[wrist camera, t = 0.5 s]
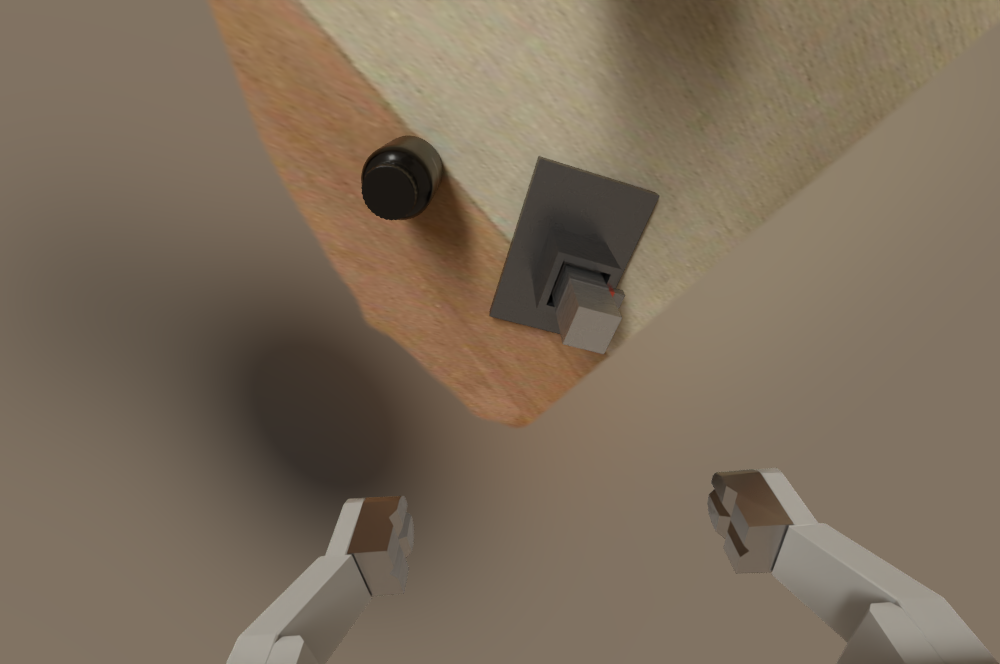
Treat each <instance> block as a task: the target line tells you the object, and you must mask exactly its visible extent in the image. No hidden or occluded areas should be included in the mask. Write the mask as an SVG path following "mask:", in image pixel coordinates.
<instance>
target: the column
mask: <svg viewBox="0 0 1000 664" xmlns="http://www.w3.org/2000/svg"><path fill="white" fill-rule="evenodd" d="M551 296H552V298H553V302H554V307H555V314H556V316H557V320H558V325H559V330H560V334H561V339H562V343H563V344H564V345H569V346H573V347H577V348H581V349H585V350H589V351H593V352H597V353H601V354H604V353H605V351H606V349H607V347H608V345H609V343H610V341H611V339H612V337H613V335H614V333H615V331H616V329H617V327H618V325H619V323H620V321H621V319H622V316H621V314H620V312H619V310H618V308H617V306H616V304H615V302H614V300H613V297H612V295H611V293H610V291H609V287H608V285H606V283H605V281H604V279H603V276H602V274H601V272H600V271H597V270H593V269H589V268H586V267H582V266H579V265H575V264H572V263H568V262H564V261H563V263H562V266H561V268H560V271H559V274H558V276H557V279H556V281H555V284H554V286H553V289H552V291H551Z"/></svg>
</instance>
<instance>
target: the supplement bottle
mask: <svg viewBox="0 0 1000 664" xmlns="http://www.w3.org/2000/svg"><path fill="white" fill-rule="evenodd" d="M442 174H443V169H442V163H441V159H440V157H439V155H438V153H437V151H436V150H435V149H434V148H433V146H432V145H431V144H429V143H428V142H427V141H425V140H423V139H421V138H419V137H415V136H402V137H399V138H396V139H394V140H392V141H391V142H389V143H387V144H386V145H384V146H382V147H381V148H379V149H378V150H376V151H375V152H373V153H372V154H371V155H370V156H369V158H368V159H367V160H366V162H365V164H364V166H363V169H362V175H361V183H362V195H363V199H364V200H365V204H366V205H367V207H368V208H369V209H370V210H371V211H372V212H373V213H375V215H376V216H379V217H380V218H384V219H386V220H388V219H389V220H406V219H411V218H414V217H416V216H418V215H419V214H421V213H422V212H423V211H424V210H425V209H426V208H427V206H428V205H429V204H430V202H431V200H432V198H433V196H434V195H435V193H436V191H437V189H438V187H439V185H440V183H441V180H442Z"/></svg>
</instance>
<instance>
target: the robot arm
mask: <svg viewBox="0 0 1000 664" xmlns="http://www.w3.org/2000/svg"><path fill="white" fill-rule="evenodd" d="M711 483H712V485H713V487H714V490H713V491H712V492H711V493H710V494H709V497H708V511H709V516H710V519H711V522H712V524H713V527H714V529H715V531H716V532H717V533H718V534H720V535H721V536H722V537H723V538H725V539H726V540H725V544H724V550H725V552H726V554H727V556H728V558H729V560H730V563H731V565H732V567H733V569H734V571H735V573H736V574H737V573H765V572H766V573H767V572H772V575H773V576H774V577H775V578H776V579H777V580H778V581H780V582H781V583H782V584H783V585H784V586H785V587H786V588H787V589H788V590H790V591H791V592H792V593H793V594H794V595H795V596H796V597H798V599H800V600H801V601H802V602H803V603H804V604H805V605H806V606H807V607H808V608H810V609H811V610H812V611H813V612H814V613H815V614H816V615H818V616H819V617H820V618H821V619H822V620H823V621H824V622H825V623H826V624H827V625H829V626H830V627H831V628H832V629H833V630H834V631H835V632H836V633H837V634H839V635H840V636H841V637H842V638H843V639H844V640H845V641H846V642H847V645H846V647H845V649H844V650H843V652H842V654H841V655H840V657H839V659H838V662H837V664H999V663H998V662H997V660H996V659H995V658H994V657H993V656H992V654H991V653H990V652H989V651H988V650H987V649H986V647H985V646H984V645H983V644H982V643H981V642H980V641H979V639H978V638H977V637H976V636H975V634H974V633H973V632H972V631H971V630H970V628H969V627H968V626H967V625H966V624H965V623H964V621H963V620H962V619H961V618H960V617H959V615H958V614H957V613H956V612H955V611H954V609H953V608H952V607H951V606H950V605H949V604H948V603H947V601H946V600H945V599H944V598H943V597H941V596H940V595H938V594H937V593H935V592H933V591H932V590H930V589H928V588H927V587H925V586H924V585H922V584H921V583H919V582H917V581H916V580H914V579H913V578H911V577H909V576H908V575H906V574H905V573H903V572H902V571H900V570H898V569H897V568H895V567H894V566H892V565H890V564H889V563H887V562H886V561H884V560H882V559H881V558H879V557H878V556H876V555H875V554H873V553H871V552H870V551H868V550H867V549H865V548H863V547H862V546H860V545H859V544H857V543H855V542H854V541H852V540H851V539H849V538H847V537H846V536H844V535H843V534H841V533H840V532H838V531H836V530H835V529H833V528H832V527H830V526H828V525H827V524H825V523H820V524H819V523H818V522H817V521H816V519H815V518H814V517H813V515H812V514H811V513H810V511H809V510H808V508H807V507H806V505H805V504H804V503H803V501H802V500H801V499H800V497H799V496H798V494H797V493H796V492H795V490H794V489H793V487H792V486H791V485H790V483H789V482H788V480H787V479H786V478H785V476H784V475H783V473H782V472H781V471H780V470H779V469H777V468H769V469H756V470H753V469H751V470H739V471H729V472H716V473H715V474H714V475H713V477H712V481H711ZM406 509H407V502H406V499H405V497H404V496H394V497H372V498H356V499H348V500H347V501H346V503H345V504H344V505H343V508H342V511H341V514H340V516H339V520H338V522H337V525H336V527H335V530H334V533H333V536H332V538H331V541H330V544H329V547H328V549H327V552H326V555H325V556H321V557H319V558H318V559H317V560H316V561H315V562H314V563H313V564H312V565H311V566H310V567H309V568H308V569H307V570H306V571H305V572H303V574H301V575H300V576H299V577H298V578H297V579H296V580H295V581H294V582H293V583H292V584H291V586H289V587H288V589H286V591H284V592H283V593H282V594H281V595H280V596H279V597H278V598H277V599H276V600H275V601H274V602H273V603H272V604H271V605H270V606H269V607H268V608H267V609H266V610H265V612H263V613H262V614H261V615H260V616H259V617H258V618H257V619H256V620H255V621H254V622H253V623H252V624H251V625H250V626H249V627H248V628H247V629H246V630H245V631H244V632H243V633H242V634H241V635H240V636H239V637H238V639H237V641H236V643H235V645H234V648H233V650H232V652H231V654H230V656H229V658H228V660H227V663H226V664H325V663H326V662H327V661H328V659H329V658H330V656H331V655H332V654H333V652H334V651H335V650H336V648H337V646H338V645H339V644H340V643H341V641H342V640H343V638H344V637H345V636H346V634H347V633H348V631H349V630H350V629H351V627H352V626H353V624H354V623H355V622H356V620H357V619H358V617H359V616H360V614H361V613H362V612H363V610H364V609H365V608H366V606H367V605H368V603H369V602H370V601H371V599H372V598H371V597H372V596H383V595H394V594H404V591H405V586H406V581H407V575H408V570H409V567H408V564H407V561H406V558H407V557H408V555H409V554H410V553H411V552H412V548H413V542H414V526H413V520H412V517H411V515H410V514H409V513H407V512H406Z"/></svg>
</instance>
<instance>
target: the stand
mask: <svg viewBox="0 0 1000 664" xmlns="http://www.w3.org/2000/svg"><path fill="white" fill-rule="evenodd" d="M658 198H659V195H658V194H657V193H655V192H652V191H649V190H646V189H643V188H639V187H636V186H633V185H630V184H627V183H623V182H620V181H617V180H614V179H611V178H607V177H604V176H601V175H598V174H595V173H591V172H588V171H585V170H582V169H579V168H575V167H572V166H569V165H566V164H563V163H559V162H556V161H553V160H550V159H547V158H543V157H540V156H538V160H537V163H536V166H535V169H534V172H533V175H532V179H531V182H530V185H529V188H528V191H527V194H526V198H525V201H524V204H523V207H522V210H521V213H520V217H519V220H518V223H517V226H516V229H515V232H514V236H513V239H512V242H511V245H510V248H509V251H508V255H507V258H506V261H505V264H504V267H503V270H502V274H501V277H500V280H499V283H498V286H497V289H496V293H495V296H494V299H493V302H492V305H491V308H490V316H491V317H495V318H499V319H503V320H507V321H511V322H515V323H519V324H523V325H527V326H531V327H534V328H538V329H542V330H546V331H550V332H554V333H558V334H560V330H559V325H558V320H557V316H556V314H555V307H554V302H553V298H552V296H551V291H552V289H553V286H554V284H555V281H556V279H557V276H558V274H559V271H560V268H561V266H562V263H563V261H564V262H568V263H572V264H575V265H579V266H582V267H586V268H589V269H593V270H597V271H600V272H601V274H602V276H603V279H604V281H605V283H606V285H608V287H609V291H610V293H611V295H612V297H613V300H614V302H615V304H616V306H617V308H619V307H620V305H621V303H622V301H623V299H624V297H625V294H624V292H623V290H619V289H616V287H617V284H618V282H619V280H620V278H621V276H622V274H623V272H624V270H625V268H626V265H627V263H628V261H629V259H630V257H631V255H632V253H633V251H634V249H635V246H636V244H637V242H638V240H639V238H640V236H641V234H642V232H643V230H644V227H645V225H646V223H647V221H648V219H649V217H650V215H651V213H652V211H653V208H654V206H655V204H656V202H657V200H658Z"/></svg>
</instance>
